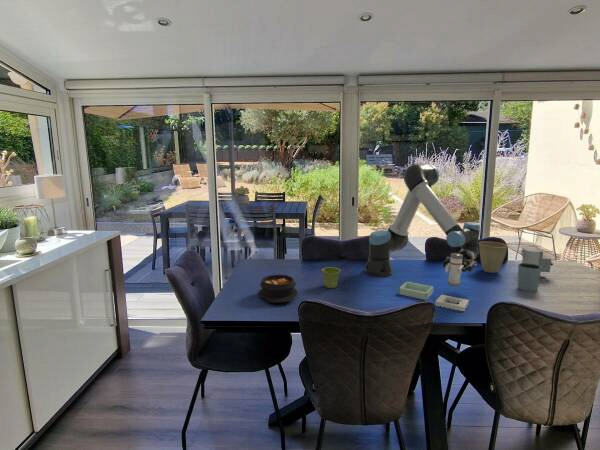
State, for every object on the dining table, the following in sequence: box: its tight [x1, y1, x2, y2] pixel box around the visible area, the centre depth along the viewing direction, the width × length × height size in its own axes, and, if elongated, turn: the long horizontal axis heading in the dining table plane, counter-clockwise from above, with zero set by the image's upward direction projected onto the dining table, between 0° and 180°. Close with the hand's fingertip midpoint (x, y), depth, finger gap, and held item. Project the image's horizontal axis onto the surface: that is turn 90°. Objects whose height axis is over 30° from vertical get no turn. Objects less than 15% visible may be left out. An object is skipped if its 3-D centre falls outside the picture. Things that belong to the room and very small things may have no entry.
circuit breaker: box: [520, 247, 554, 279], centre depth 215 cm, size 8×14×15 cm, turn 78°
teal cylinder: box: [517, 262, 542, 292], centre depth 196 cm, size 10×10×12 cm
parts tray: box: [398, 281, 434, 301], centre depth 189 cm, size 13×11×3 cm
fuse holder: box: [434, 294, 470, 312], centre depth 175 cm, size 12×10×2 cm
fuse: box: [447, 252, 463, 288], centre depth 172 cm, size 5×5×14 cm
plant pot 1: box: [321, 266, 341, 289], centre depth 198 cm, size 9×9×9 cm
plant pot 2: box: [478, 240, 509, 274], centre depth 224 cm, size 15×15×16 cm
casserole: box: [258, 274, 299, 304], centre depth 185 cm, size 25×19×8 cm
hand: (452, 270), depth 168 cm, fingers closed on fuse, 5 cm apart
